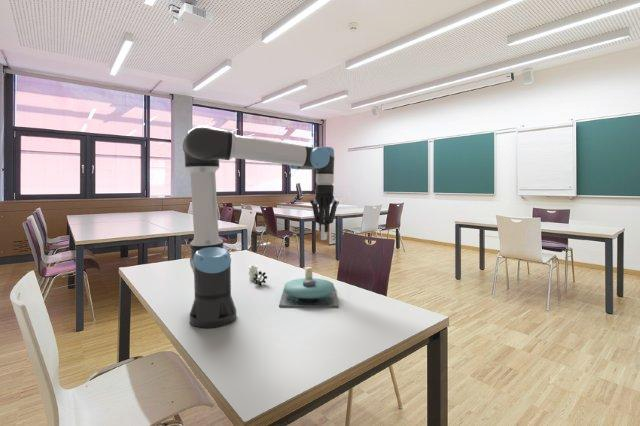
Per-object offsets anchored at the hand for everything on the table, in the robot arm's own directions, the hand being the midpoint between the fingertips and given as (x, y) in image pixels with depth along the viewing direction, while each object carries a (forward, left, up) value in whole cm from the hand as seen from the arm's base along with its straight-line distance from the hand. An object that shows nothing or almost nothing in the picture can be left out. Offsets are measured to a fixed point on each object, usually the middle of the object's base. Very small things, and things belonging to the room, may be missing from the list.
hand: (323, 239), depth 143 cm
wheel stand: (-9, +6, -22) cm, 25 cm away
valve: (+11, +31, -23) cm, 40 cm away
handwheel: (-9, +6, -19) cm, 22 cm away
